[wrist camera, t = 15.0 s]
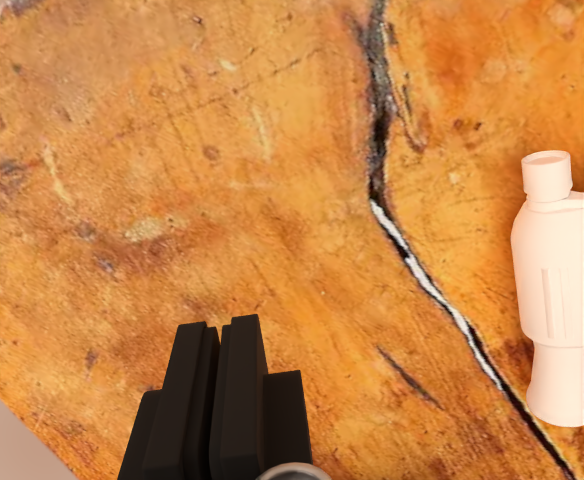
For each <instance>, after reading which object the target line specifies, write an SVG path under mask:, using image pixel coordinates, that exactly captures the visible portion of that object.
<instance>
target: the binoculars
mask: <svg viewBox="0 0 584 480" xmlns="http://www.w3.org/2000/svg"><path fill="white" fill-rule="evenodd" d="M521 163H522V173H523V182H524V184H523V188H524V192H525V193H526V194H527V196H526V201H525V202H524V204H523V206H522V207H521V209H520V211H519V213H518V214H517V216H516V218H515V220H514V223H513V228H512V232H511V238H510V239H511V247H512V255H513V264H514V272H515V281H516V289H517V297H518V306H519V314H520V323H521V328H522V331H523V332H524V334H525V335H526V336H527V337H528V338H530V339H532V340H533V344H534V348H535V352H534V359H533V367H532V377H531V382H530V384H529V387H528V389H527V392H526V400H527V405H528V407H529V409H530V411H531V412H532V413H533V414H534V415H535V416H536V417H538V418H539V419H541V420H543V421H545V422H547V423H550V424H553V425H557V426H563V427H577V426H582V425H584V192H575V191H570V189H571V188H572V186H573V183H572V178H571V163H570V154H569V153H568V152H566V151H561V150H549V151H541V152H537V153H533V154H530V155H527V156H526V157H524V158H523V159H522V161H521Z"/></svg>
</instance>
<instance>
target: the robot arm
mask: <svg viewBox="0 0 584 480" xmlns="http://www.w3.org/2000/svg"><path fill="white" fill-rule="evenodd" d="M117 480H332V479H331V477H330V476H329V475H328V474H327V473H325V472H324V471H323V470H322V469H321V468H318V467H316V466H313V460H312V452H311V444H310V436H309V428H308V421H307V413H306V406H305V399H304V392H303V385H302V379H301V372H300V370H295V371H288V372H281V373H273V374H268V368H267V363H266V357H265V351H264V345H263V339H262V334H261V328H260V322H259V317H258V314H253V315H246V316H238V317H232V320H231V324H230V325H223V327H222V336H221V345H220V341H219V336H218V332H217V329H216V327H209V328H208V327H207V324H206V322H205V321H203V322H196V323H189V324H181V325H179V326H178V329H177V332H176V336H175V340H174V344H173V348H172V352H171V356H170V360H169V364H168V367H167V371H166V375H165V379H164V383H163V387H162V389H160V390H153V391H147V392H145V393H144V395H143V397H142V399H141V403H140V406H139V409H138V412H137V416H136V419H135V422H134V426H133V429H132V432H131V436H130V439H129V442H128V445H127V449H126V452H125V455H124V459H123V462H122V465H121V468H120V472H119V475H118V478H117Z"/></svg>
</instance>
